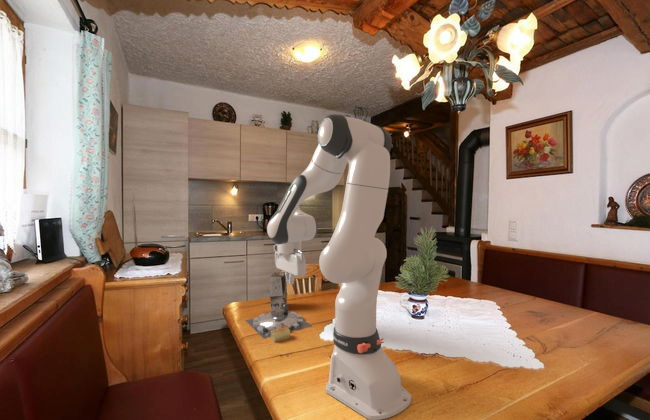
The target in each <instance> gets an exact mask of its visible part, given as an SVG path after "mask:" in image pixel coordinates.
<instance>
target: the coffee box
mask: <svg viewBox="0 0 650 420" xmlns="http://www.w3.org/2000/svg"><path fill="white" fill-rule="evenodd" d="M269 281H270V282H269V283H270V285H269V286H270V288H269V289H270V290H269V291H270V292H269V294H270V298H269V299H270V301H269V303H270V305H269V307H270V308H269V309H270V311H269V312H271V311H275V312H280V311H283V304H288V283H287V279H286V276H285V271H283V272H282V271H281V272H273V273H272V274H271V275H270V280H269Z"/></svg>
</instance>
